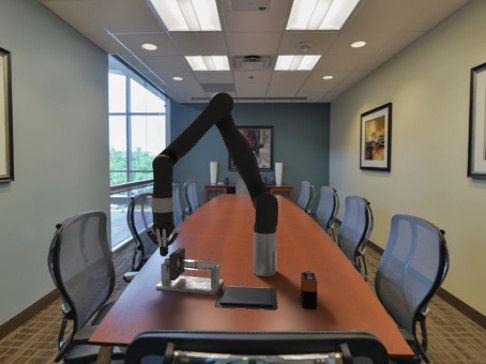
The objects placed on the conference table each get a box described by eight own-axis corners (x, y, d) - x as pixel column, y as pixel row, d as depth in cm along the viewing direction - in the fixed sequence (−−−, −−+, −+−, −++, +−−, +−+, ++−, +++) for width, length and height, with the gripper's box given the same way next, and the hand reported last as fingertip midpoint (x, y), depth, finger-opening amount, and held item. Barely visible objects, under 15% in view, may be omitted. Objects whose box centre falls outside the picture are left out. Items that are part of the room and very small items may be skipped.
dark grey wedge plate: (185, 270, 106) (184, 247, 105) (174, 280, 97) (174, 255, 97) (180, 270, 106) (179, 247, 106) (169, 280, 98) (169, 255, 97)
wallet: (213, 303, 86) (222, 282, 101) (213, 309, 86) (222, 287, 101) (278, 307, 84) (277, 285, 99) (277, 313, 84) (276, 290, 99)
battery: (313, 298, 92) (314, 269, 91) (317, 309, 85) (317, 278, 84) (300, 298, 92) (301, 269, 92) (302, 308, 86) (303, 277, 85)
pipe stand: (223, 282, 104) (223, 257, 103) (215, 295, 94) (215, 267, 93) (169, 277, 108) (168, 252, 107) (155, 288, 98) (155, 261, 98)
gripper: (184, 208, 104) (184, 253, 105) (152, 207, 106) (153, 251, 108) (175, 212, 96) (176, 260, 97) (141, 210, 99) (142, 258, 100)
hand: (164, 255), depth 102 cm, fingers closed
